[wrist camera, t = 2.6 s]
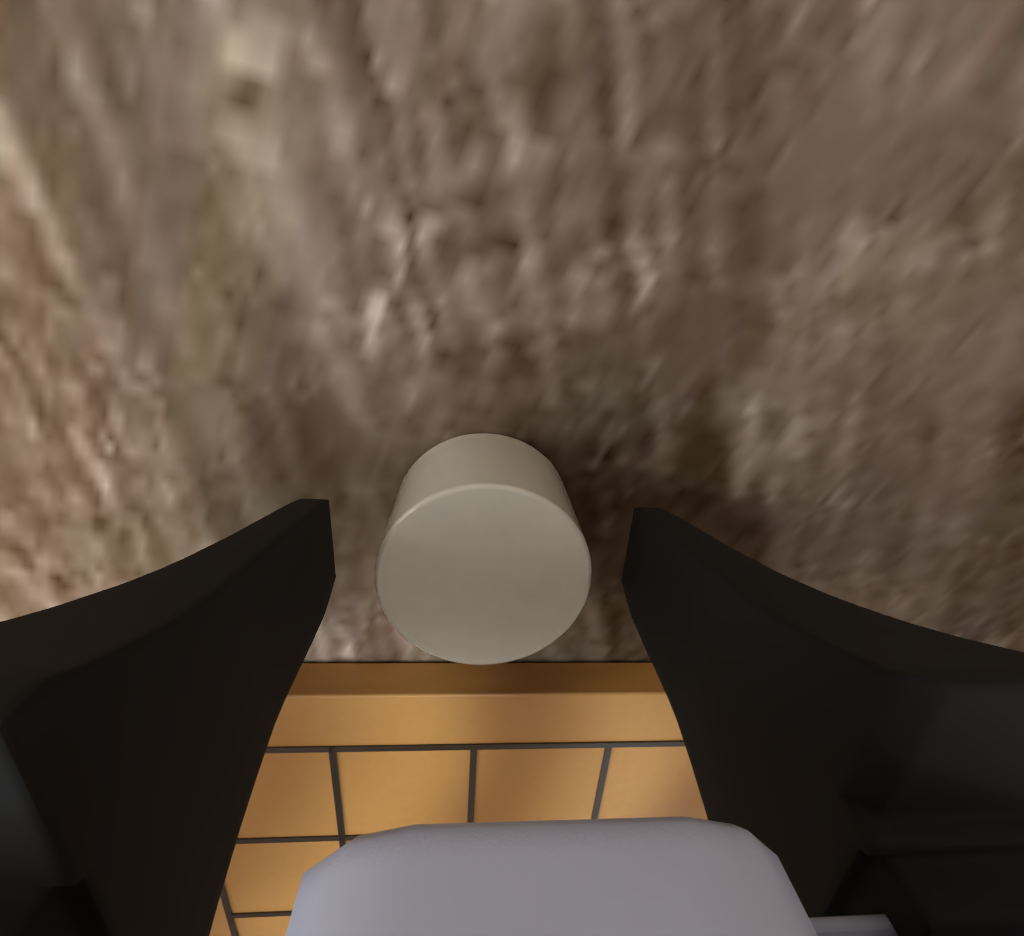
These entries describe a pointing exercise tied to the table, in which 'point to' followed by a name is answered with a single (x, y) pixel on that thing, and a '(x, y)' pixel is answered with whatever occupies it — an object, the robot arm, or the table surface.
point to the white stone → (482, 552)
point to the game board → (447, 763)
